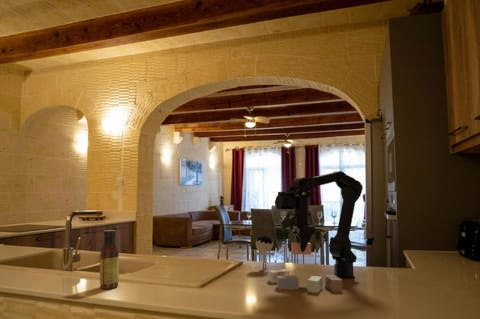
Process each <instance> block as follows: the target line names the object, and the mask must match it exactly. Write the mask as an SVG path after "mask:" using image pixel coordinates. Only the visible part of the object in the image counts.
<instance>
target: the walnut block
mask: <svg viewBox="0 0 480 319" xmlns="http://www.w3.org/2000/svg"><path fill="white" fill-rule="evenodd" d="M324 285H325V287H326V288H327V289H329V290H330V291H331V292H334V293H335V292H343V278H339V277H337V276H336V275H334V274H331V275H330V274H326V275H324Z"/></svg>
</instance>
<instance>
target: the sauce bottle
mask: <svg viewBox="0 0 480 319" xmlns="http://www.w3.org/2000/svg"><path fill="white" fill-rule="evenodd" d="M116 234H117V232H116V229H108V230H103V245H102V247H101V249H100V255H99V256H100V258H99V284H100V286H99V287H100V289H103V290H112V289H115V288H117V287H118V286H119V279H120V278H119V276H120V275H119V274H120V273H119V272H120V271H119V270H120V266H119V264H120V263H119V262H120V261H119V260H120V253H119V250H118V246H117V243H116Z"/></svg>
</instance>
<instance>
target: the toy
mask: <svg viewBox="0 0 480 319" xmlns="http://www.w3.org/2000/svg"><path fill="white" fill-rule="evenodd" d="M273 246H274V241H273V239H272V237H271V236H269V235H267V234H262V235H259V236H258V237H257V238H256V240H255V247H256V249H257V250H258V251H259V252H258V251H255V252H254V255H255V256H258V255H260V256H261V255H262V270H266V269H267V263H268V262H267V261H268V260H267V257H268V256H272V257H274V256H275V252H273V251H272V252H270V251H271V250H272V249H273Z"/></svg>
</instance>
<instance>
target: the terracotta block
mask: <svg viewBox="0 0 480 319" xmlns="http://www.w3.org/2000/svg"><path fill="white" fill-rule="evenodd" d="M290 249H291V251H290V252H291V254H292V255H303V256H305V255H309V256H310V255H312V243H310V242H308V244H307V246H306V249H305V251H304V252H301V248H300V242H294V241H292V242H291V248H290Z"/></svg>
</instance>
